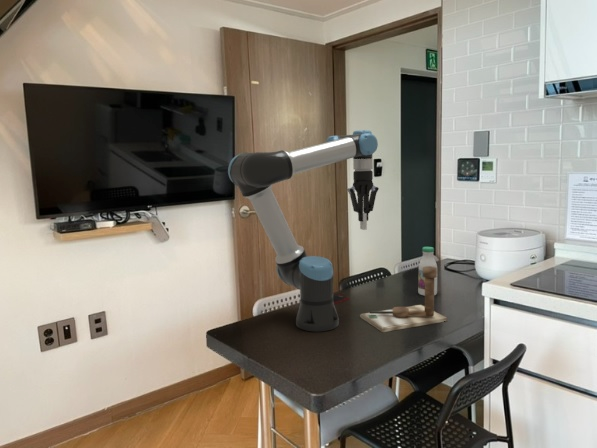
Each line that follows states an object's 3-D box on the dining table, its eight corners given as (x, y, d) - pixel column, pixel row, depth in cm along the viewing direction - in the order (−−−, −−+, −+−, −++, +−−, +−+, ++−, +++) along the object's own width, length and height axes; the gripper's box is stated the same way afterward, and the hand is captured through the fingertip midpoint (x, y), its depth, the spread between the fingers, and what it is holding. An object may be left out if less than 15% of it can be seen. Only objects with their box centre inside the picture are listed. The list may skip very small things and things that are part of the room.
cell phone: (312, 304, 186) (312, 302, 186) (335, 296, 196) (335, 293, 196) (326, 308, 181) (326, 306, 180) (349, 299, 191) (349, 297, 191)
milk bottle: (435, 291, 198) (435, 245, 195) (438, 296, 190) (439, 249, 187) (416, 291, 199) (417, 245, 196) (419, 296, 191) (420, 249, 188)
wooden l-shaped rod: (369, 316, 163) (369, 269, 161) (369, 311, 169) (368, 266, 166) (437, 317, 161) (438, 269, 158) (434, 312, 166) (435, 266, 164)
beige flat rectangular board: (382, 332, 154) (382, 327, 153) (360, 317, 169) (360, 313, 168) (447, 321, 162) (447, 316, 162) (420, 307, 177) (420, 303, 177)
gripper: (372, 169, 187) (373, 226, 190) (343, 170, 183) (344, 229, 186) (382, 169, 180) (382, 229, 183) (352, 171, 176) (353, 231, 179)
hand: (363, 229), depth 185 cm, fingers closed
